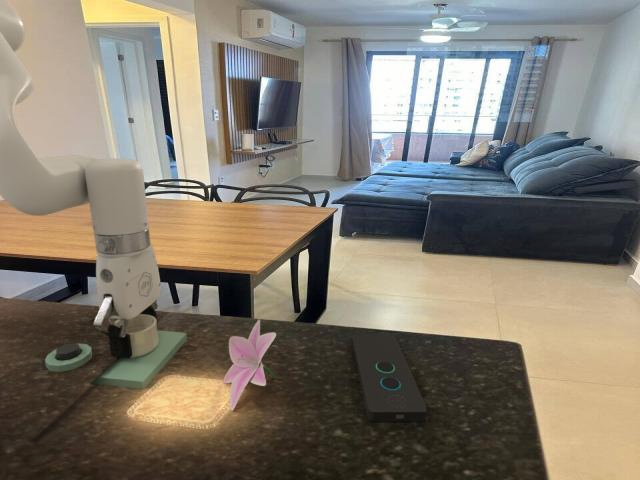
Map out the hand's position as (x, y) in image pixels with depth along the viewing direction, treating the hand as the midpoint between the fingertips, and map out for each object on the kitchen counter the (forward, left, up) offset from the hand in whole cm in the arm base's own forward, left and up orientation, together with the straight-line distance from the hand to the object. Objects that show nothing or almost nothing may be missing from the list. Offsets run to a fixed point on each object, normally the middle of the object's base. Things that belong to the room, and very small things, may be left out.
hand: (136, 342), depth 63 cm
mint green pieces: (-2, -1, -2) cm, 3 cm away
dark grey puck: (-8, -5, 0) cm, 9 cm away
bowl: (0, 0, -1) cm, 1 cm away
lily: (+21, -5, -3) cm, 22 cm away
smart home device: (+41, +1, -3) cm, 41 cm away
